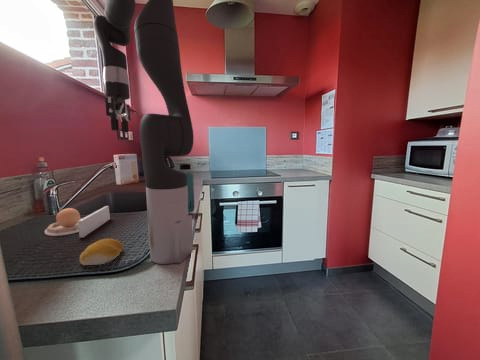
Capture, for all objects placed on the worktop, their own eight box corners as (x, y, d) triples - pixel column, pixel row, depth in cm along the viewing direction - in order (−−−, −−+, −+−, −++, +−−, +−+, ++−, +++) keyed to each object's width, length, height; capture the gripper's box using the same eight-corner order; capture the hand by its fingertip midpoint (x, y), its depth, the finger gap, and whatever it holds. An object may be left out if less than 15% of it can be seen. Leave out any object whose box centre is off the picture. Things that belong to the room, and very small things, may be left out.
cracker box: (133, 181, 160) (131, 153, 157) (139, 182, 158) (137, 154, 154) (115, 184, 148) (113, 154, 145) (121, 185, 145) (118, 154, 142)
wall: (107, 219, 78) (105, 206, 77) (109, 219, 78) (108, 205, 77) (79, 237, 62) (77, 221, 61) (83, 237, 62) (81, 221, 61)
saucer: (100, 223, 73) (100, 219, 73) (64, 237, 62) (63, 232, 62) (74, 220, 76) (73, 216, 76) (34, 233, 65) (33, 228, 65)
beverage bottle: (182, 211, 88) (180, 162, 85) (197, 212, 86) (196, 163, 83) (174, 216, 81) (172, 164, 78) (190, 217, 80) (189, 164, 77)
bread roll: (126, 247, 57) (125, 233, 56) (115, 265, 48) (113, 248, 48) (91, 250, 55) (89, 235, 54) (72, 269, 46) (70, 252, 46)
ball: (85, 224, 71) (83, 206, 70) (66, 230, 65) (64, 211, 64) (72, 222, 73) (69, 205, 72) (52, 229, 67) (49, 210, 66)
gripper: (114, 88, 81) (118, 132, 83) (94, 76, 67) (99, 129, 69) (135, 89, 81) (138, 132, 84) (119, 77, 68) (123, 130, 70)
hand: (120, 131), depth 76 cm, fingers open, 8 cm apart
